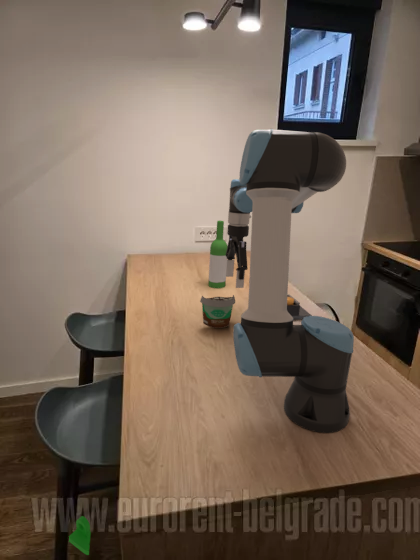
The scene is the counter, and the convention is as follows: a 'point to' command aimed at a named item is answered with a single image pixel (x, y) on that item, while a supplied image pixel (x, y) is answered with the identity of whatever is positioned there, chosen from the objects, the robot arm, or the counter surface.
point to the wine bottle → (218, 259)
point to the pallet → (297, 310)
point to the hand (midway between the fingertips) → (234, 281)
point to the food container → (217, 311)
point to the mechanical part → (81, 535)
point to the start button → (290, 301)
